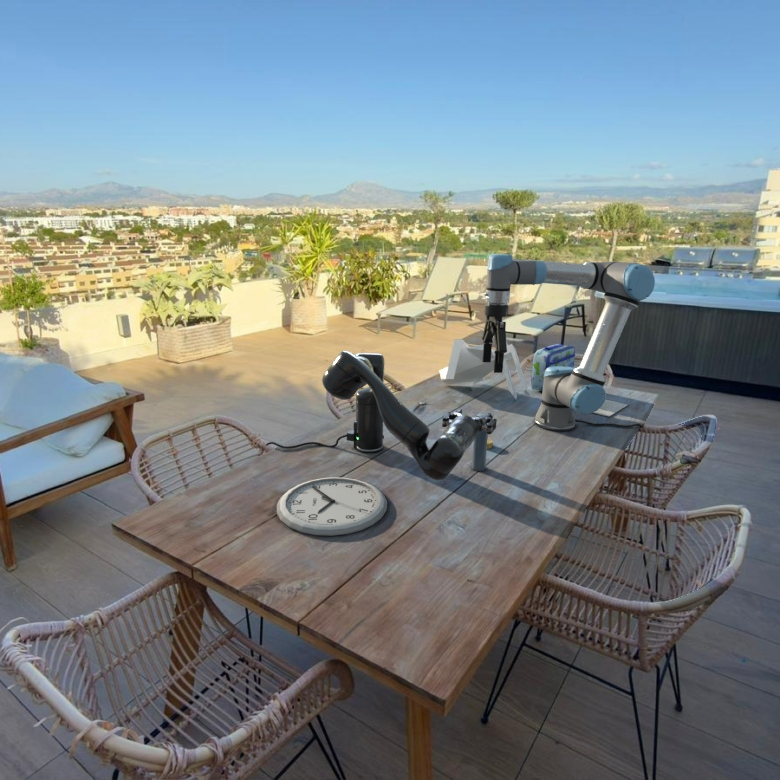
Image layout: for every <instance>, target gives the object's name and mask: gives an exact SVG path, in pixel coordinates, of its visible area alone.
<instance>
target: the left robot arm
mask: <svg viewBox="0 0 780 780" xmlns="http://www.w3.org/2000/svg"><path fill="white" fill-rule="evenodd" d="M385 365H386V363H385V357H384V355H383V354H381V353H369V352H367V353H366V352H360V353H359V352H358V353H356V354H354V353H353V352H351V351H347V350H343V351H341V352H340V353H339V354H338V355H337V356H336V357H335V358H334V359H333V361H332V362H331V364H330V365H329V367H327V369H326V370H325V371H324V373H323V375H322V378H321V382H322V385H323V387H324V389H325V390H326V392H328V393H329V395H331V396H333V397H334V398H336V399H339V400H342V401H347V400H350V399H352V398H353V397H354V396H355V421H354V422H353V428H351V429H350V430H349V431H348V432H346V434H343V435H341V436H339V437H338V438H337V439H336V442H335V444H332V445H331V444H330V445H328V444H324V443H321V442H317V441H309V442H303V443H300V444H296V445H289V446H287V445H286V446H285V445H282V444H279V443H278V442H276V441H268V442H267V443H266V444H265V446H266V447H267V446H269V445H274V446H277V447H279V448H281V449H286V450H287V449H288V450H289V449H296V448H299V447H303V446H306V445H317V446H322V447H326V448H334V447H337V446H338V444H339V441H340V440H341V439H343V438H346V441H348V442H353V449H355V450H357V451H359V452H361V453H366V454H371V453H378V452H380V451H382V450H383V449H384V439H385V436H384V427H386V429H387V430H388V431H389V433H390V434H391V435H393V437H394V438H396V439H397V440H398V441H399V442H400V443H401V444H402V445H404V447H406V448H407V450H408V451H409V453H410V454H411V456H412V457H413V459H414V461H415V462H416V464H417V465H418V467H419V468H420V470H421V471H422V472H423V474H424V475H425V476H427V477H428V478H429V479H431V480H432V481H438V482H439V481H440V482H441V481H444V480H445V479H446V478H447V477H448V476H449V475H450V473H451V472H452V471H453V470H454V469H455V468H456V466H457V465H458V463H459V462H460V461H461V459H462V458H463V457H464V455H465V452H466V451H467V449H469V448H470V446H471V445H472V444H473V443H474V439H475V438H476V436H477V434H478V432H481V431H482V430H484V431H486V432H487V434H488V435H492V434H493V433H494V431H495V430H496V429H497V421H498V420H497V418H494V415H493V414H492V413H491V412H488V413H487V416H486V417H485V418H483V417H477V418H476V417H472V416H469V415H467V414H463V409H461V408H459V409H457V410H455V411H453V413H452V412H451V411H446V412H445V414H444V415H443V416H442V420H441V421H442V423H441V426H442V427H443V428H445V430H444V431H443V433H442V434H441V435H440V436H439V437H438V438H437V439H436V441H434V443H433V444H432V446H431V447H430V448H429V447H428V444H427V441H428V438H429V435H430V431H431V430H430V428H429V426H428V425H427V424H426V423H424V422H423V420H422V419H420V418H419V417H418V416H417V415H416V414H414V413H413V412H412V411H411V410H410V409H409V408H408V407H407V406H406V405H404V404H403V402H402V401H400V399H399V398H398V397H397V396H396V395H395V394H394V393H393V392H392V391H391V389H390V388H389V387H388V386H387V385H386V383H384V382H385V368H386V367H385ZM365 386H367V387H365ZM364 387H365V388H364ZM479 421H480V422H479ZM485 421H486V424H485Z"/></svg>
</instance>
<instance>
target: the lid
mask: <svg viewBox="0 0 780 780" xmlns="http://www.w3.org/2000/svg"><path fill="white" fill-rule="evenodd" d="M493 445H494V441H493V440H492V439H491V438H488V441H487V450H490V449H492V448H493Z"/></svg>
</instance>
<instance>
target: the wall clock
mask: <svg viewBox="0 0 780 780" xmlns="http://www.w3.org/2000/svg"><path fill="white" fill-rule="evenodd" d="M387 509H388V500H387V498H386V496H385V494H384V493H383V492H382V491H381V490H380V489H379V488H377V487H376V486H374V485H372V484H371V483H369V482H365V481H362V480H359V479H355V478H349V477H338V476H337V477H335V476H333V477H332V476H331V477H322V478H317V479H312V480H307V481H305V482H302V483H299V484H297V485H295V486H293V487H292V488H290V489H288V490H287V491H286V492H285V493H284V494H283V495H281V496H280V498H279V499H278V502H277V503H276V515H277V517H278V518H279V520H280V521H281V522H282V523H283V524H285V525H286V526H287V527H288V528H290V529H293V530H295V531H297V532H299V533H303V534H308V535H312V536H327V537H328V536H329V537H331V536H332V537H333V536H342V535H350V534H352V533H356V532H361V531H363V530H366V529H368V528H369V527H372V526H373V525H375V524H376V523H378V522H379V521H380V520H381V519H382V518H383V517H384V516H385V514H386V512H387Z"/></svg>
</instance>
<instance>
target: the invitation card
mask: <svg viewBox="0 0 780 780" xmlns="http://www.w3.org/2000/svg"><path fill="white" fill-rule="evenodd" d="M628 406H629V404H627V403H623V402H618V401H614V400H609V399H605V402H604V403H603V405H602V406H601V407H600V408H599V409H598V410H597V411H595V412H593V413H592V414H596V415H600V416H604V417H608V418H609V417H611V416H613V415H614V414H616V413H617V412H619V411H621V410H623V409H624V408H626V407H628Z"/></svg>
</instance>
